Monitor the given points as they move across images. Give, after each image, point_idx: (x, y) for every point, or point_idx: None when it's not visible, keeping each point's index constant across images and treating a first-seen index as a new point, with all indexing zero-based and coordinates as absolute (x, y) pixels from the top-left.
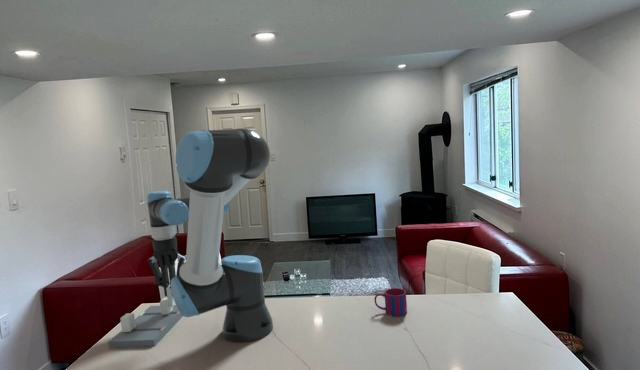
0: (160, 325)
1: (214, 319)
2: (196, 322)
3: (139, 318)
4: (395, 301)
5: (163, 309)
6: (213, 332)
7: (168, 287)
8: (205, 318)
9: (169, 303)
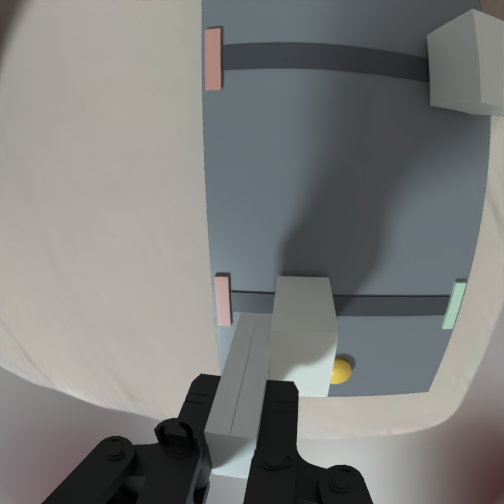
0: (259, 111)
1: (53, 245)
2: (110, 220)
3: (455, 247)
4: None
5: (310, 295)
6: (11, 121)
7: (239, 448)
8: (92, 262)
9: (260, 329)
